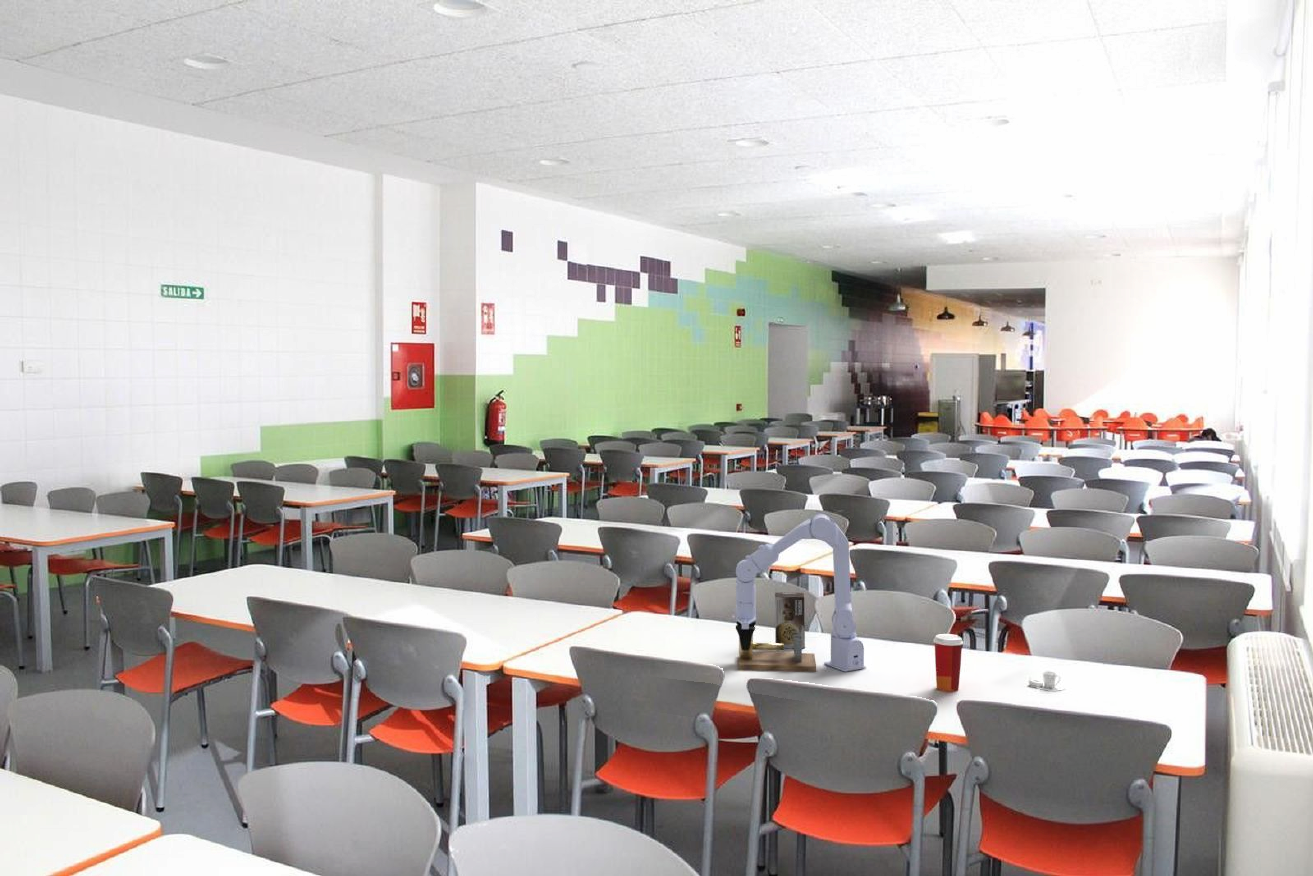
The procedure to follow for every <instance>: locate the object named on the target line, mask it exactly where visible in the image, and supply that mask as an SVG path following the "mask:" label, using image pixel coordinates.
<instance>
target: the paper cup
mask: <svg viewBox="0 0 1313 876" xmlns="http://www.w3.org/2000/svg"><path fill="white" fill-rule="evenodd" d="M932 642H933V643H934V658H935V659H934V660H935V662H934V663H935V680H936V682H935V683H936V689H937V690H938V691H941V692H946V693H948V692H949V693H953V692H958V691H959V687H960V679H961V678H960V674H961V668H962V667H961V665H962V653H963V652H962V651H963V644H964V641H963V639H962V637H961V636H959V635H956V634H951V633H939V634H938V633H937V634H936V635H935V637H934V639H933V641H932Z"/></svg>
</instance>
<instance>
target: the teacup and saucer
mask: <svg viewBox="0 0 1313 876" xmlns="http://www.w3.org/2000/svg"><path fill="white" fill-rule="evenodd" d="M1042 673H1043V674H1042V677H1043V679H1042V680H1043V681H1041V680H1039V679H1036V678H1029V679H1028V683H1029V685H1031V686H1033V687H1034V688H1036V689H1039V690H1042V691H1049V692H1059V691H1063V690H1065V689H1066V687H1065V686H1064V685H1062V684H1060V681H1061V676H1060V675H1058V674H1056V672H1055V671H1047V670H1045V671H1043V672H1042ZM1057 677H1058V681H1057V682H1056V678H1057ZM1043 683H1044V684H1043ZM1043 685H1044V687H1046V688H1042V687H1043ZM1055 686H1058V687H1059V688H1058V689H1052V688H1054V687H1055ZM1060 687H1062V688H1060ZM1049 688H1050V689H1049Z"/></svg>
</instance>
